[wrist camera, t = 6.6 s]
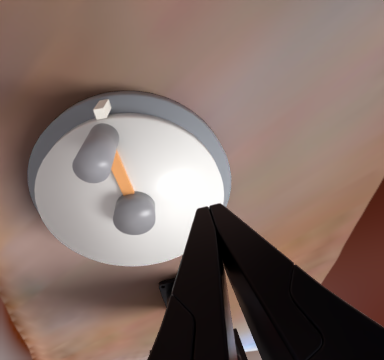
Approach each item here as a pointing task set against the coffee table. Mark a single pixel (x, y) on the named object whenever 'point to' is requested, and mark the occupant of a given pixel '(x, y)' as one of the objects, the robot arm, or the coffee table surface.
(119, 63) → the coffee table surface
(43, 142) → the base plate
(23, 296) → the coffee table surface
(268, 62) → the coffee table surface
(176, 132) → the dial
